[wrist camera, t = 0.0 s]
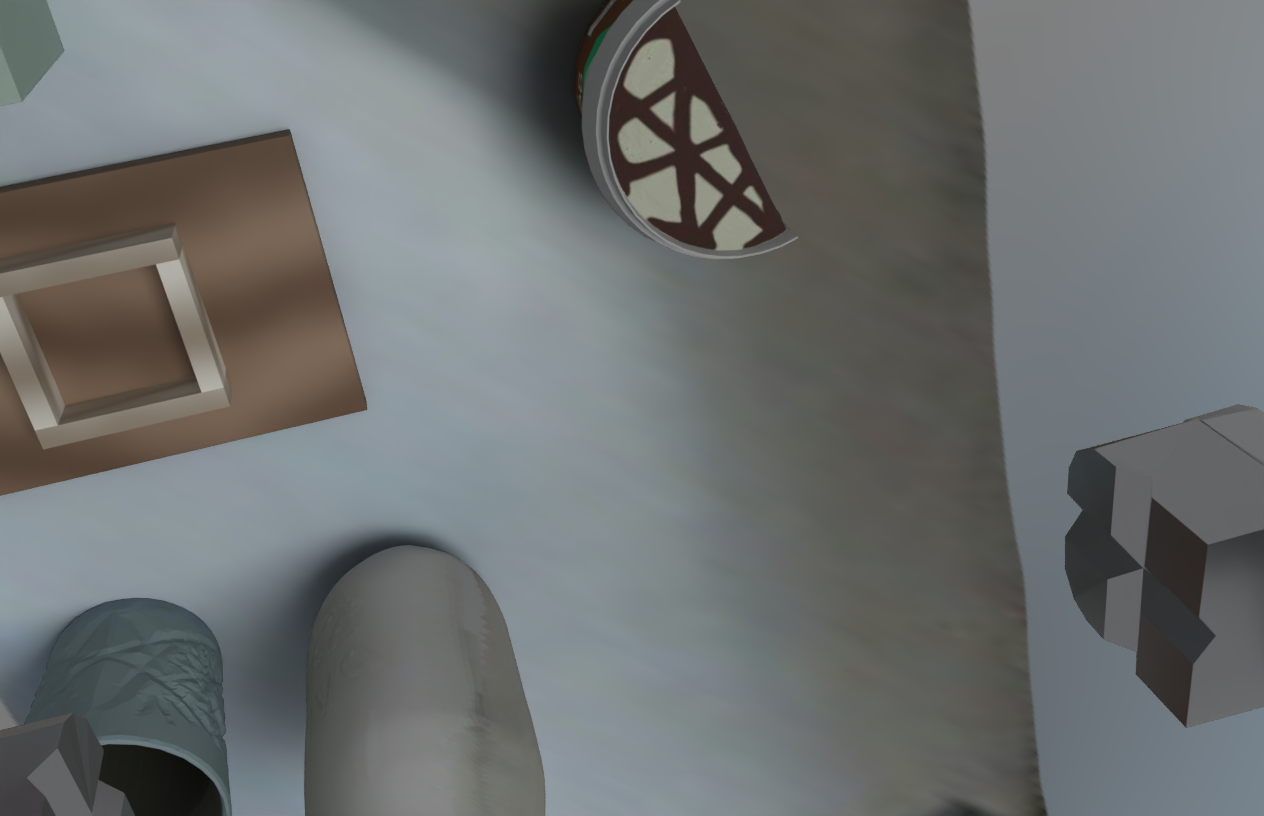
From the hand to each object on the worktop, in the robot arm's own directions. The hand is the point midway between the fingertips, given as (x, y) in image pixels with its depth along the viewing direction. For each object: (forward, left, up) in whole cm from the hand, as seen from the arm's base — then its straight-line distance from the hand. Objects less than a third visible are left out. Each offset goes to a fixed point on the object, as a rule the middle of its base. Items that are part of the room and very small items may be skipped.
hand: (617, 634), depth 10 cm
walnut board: (+14, -15, -48) cm, 52 cm away
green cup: (+33, -20, -48) cm, 62 cm away
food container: (+9, +10, -48) cm, 50 cm away
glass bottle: (+33, -6, -48) cm, 59 cm away
